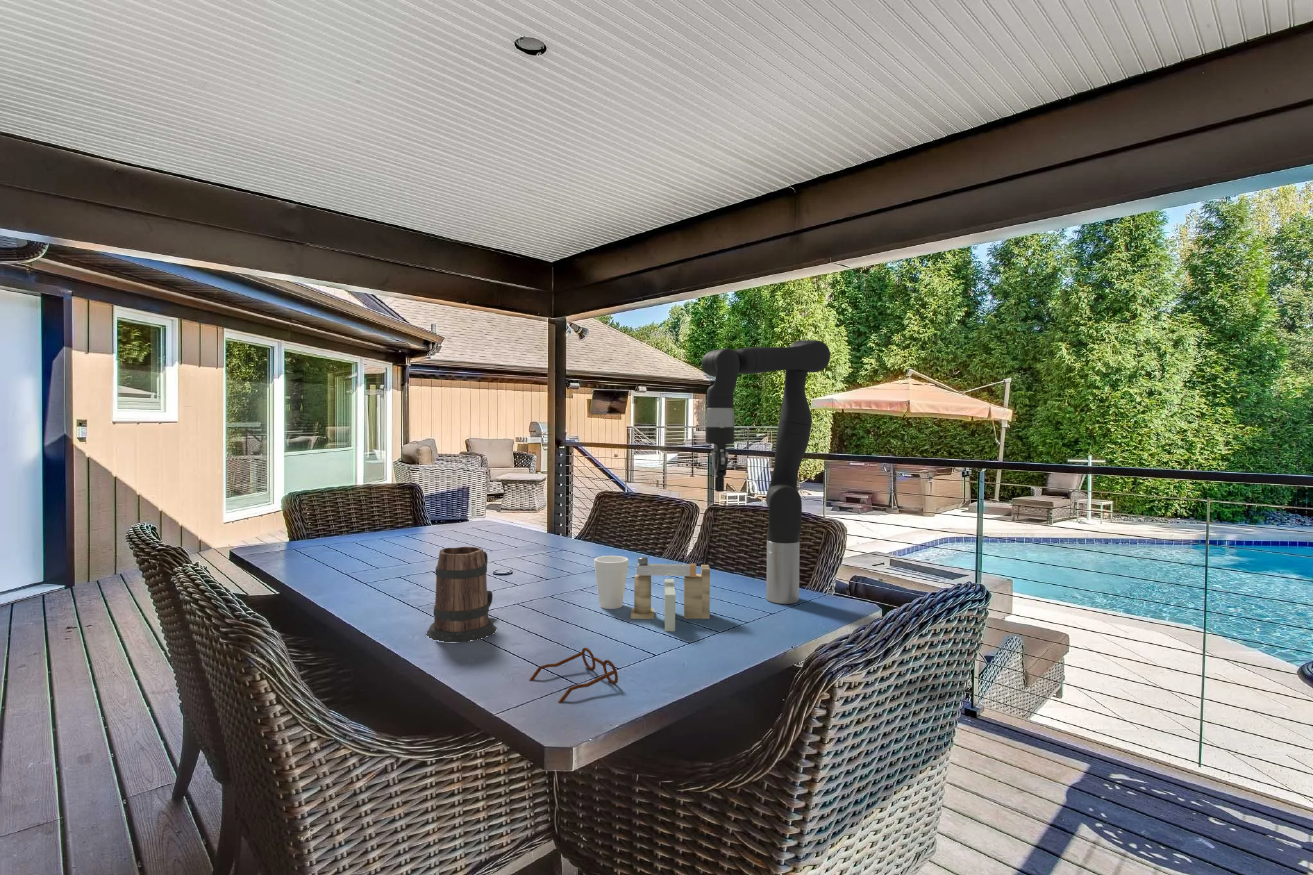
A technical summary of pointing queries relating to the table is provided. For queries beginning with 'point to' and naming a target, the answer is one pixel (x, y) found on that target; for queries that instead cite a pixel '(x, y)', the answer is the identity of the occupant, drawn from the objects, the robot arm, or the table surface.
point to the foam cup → (611, 580)
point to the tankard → (461, 596)
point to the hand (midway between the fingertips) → (719, 491)
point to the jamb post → (642, 598)
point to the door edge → (669, 604)
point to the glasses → (587, 667)
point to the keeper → (697, 595)
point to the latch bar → (665, 568)
